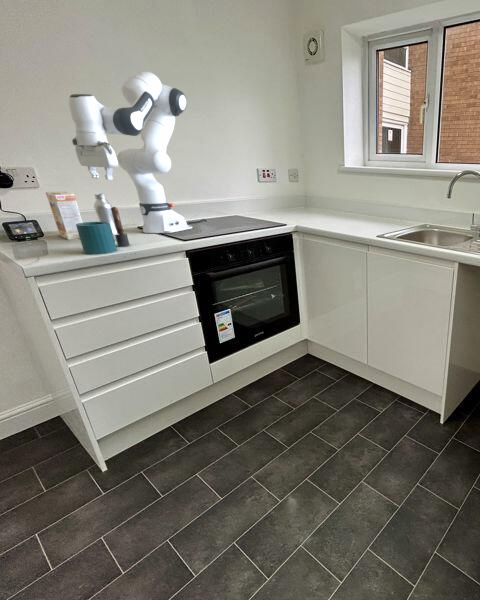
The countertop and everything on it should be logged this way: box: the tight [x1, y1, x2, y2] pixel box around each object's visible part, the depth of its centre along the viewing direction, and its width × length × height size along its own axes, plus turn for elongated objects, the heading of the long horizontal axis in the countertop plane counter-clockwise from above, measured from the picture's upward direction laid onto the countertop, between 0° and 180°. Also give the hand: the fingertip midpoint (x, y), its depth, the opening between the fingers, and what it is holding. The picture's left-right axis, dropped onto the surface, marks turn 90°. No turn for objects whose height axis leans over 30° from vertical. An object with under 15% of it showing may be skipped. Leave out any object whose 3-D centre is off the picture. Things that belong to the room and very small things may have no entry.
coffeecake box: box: [45, 191, 84, 241], centre depth 159 cm, size 15×7×20 cm, turn 53°
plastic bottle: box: [93, 193, 118, 241], centre depth 155 cm, size 6×7×20 cm
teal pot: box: [76, 221, 118, 255], centre depth 137 cm, size 10×10×11 cm
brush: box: [111, 206, 130, 248], centre depth 146 cm, size 4×4×16 cm
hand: (102, 179), depth 140 cm, fingers open, 8 cm apart
